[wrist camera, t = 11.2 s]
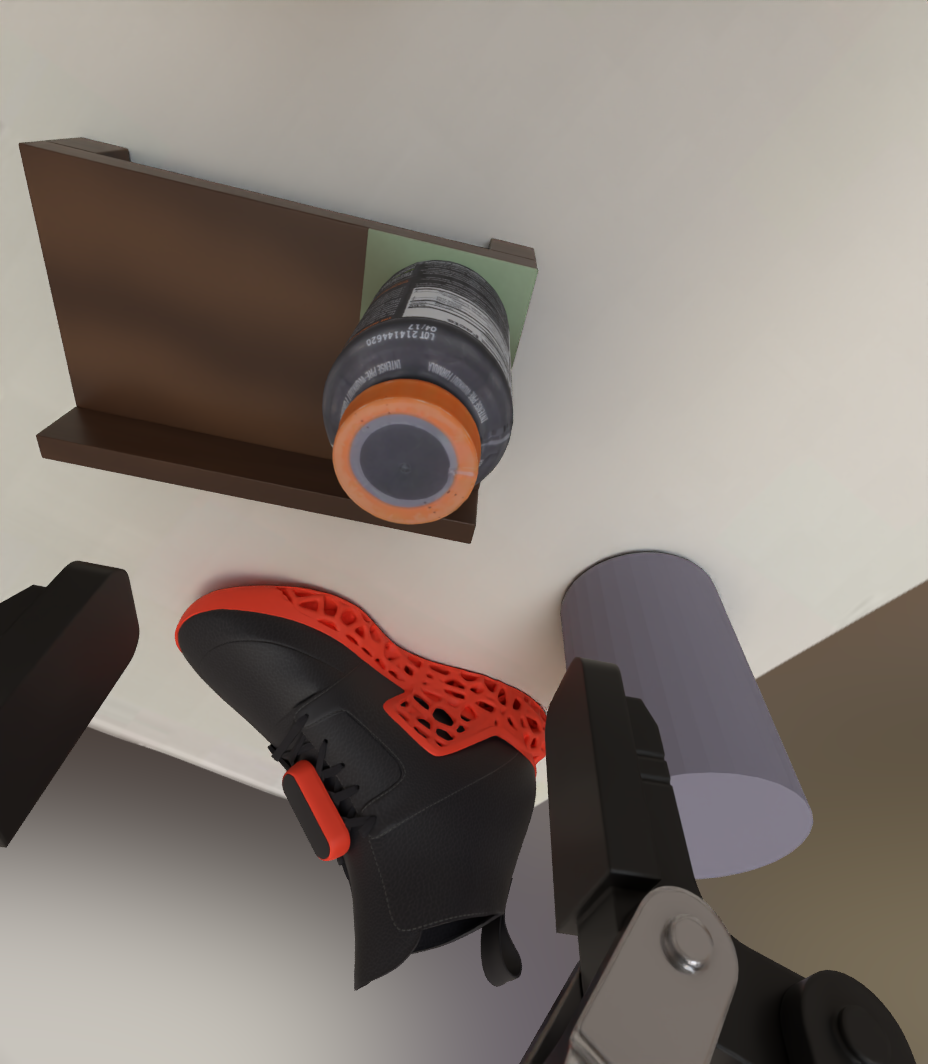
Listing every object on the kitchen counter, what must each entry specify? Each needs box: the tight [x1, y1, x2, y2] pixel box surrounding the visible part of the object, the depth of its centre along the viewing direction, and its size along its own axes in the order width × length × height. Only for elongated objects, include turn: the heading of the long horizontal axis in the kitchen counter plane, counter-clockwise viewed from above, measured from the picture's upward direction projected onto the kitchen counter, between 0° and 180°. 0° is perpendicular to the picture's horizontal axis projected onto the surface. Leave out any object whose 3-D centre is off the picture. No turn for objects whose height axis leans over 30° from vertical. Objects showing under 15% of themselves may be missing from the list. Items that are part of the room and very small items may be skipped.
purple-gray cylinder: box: [561, 552, 813, 879], centre depth 33 cm, size 10×10×15 cm
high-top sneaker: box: [175, 585, 547, 990], centre depth 37 cm, size 30×12×20 cm, turn 59°
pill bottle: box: [322, 260, 513, 524], centre depth 20 cm, size 6×6×11 cm
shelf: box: [19, 137, 538, 544], centre depth 26 cm, size 12×20×7 cm, turn 78°
